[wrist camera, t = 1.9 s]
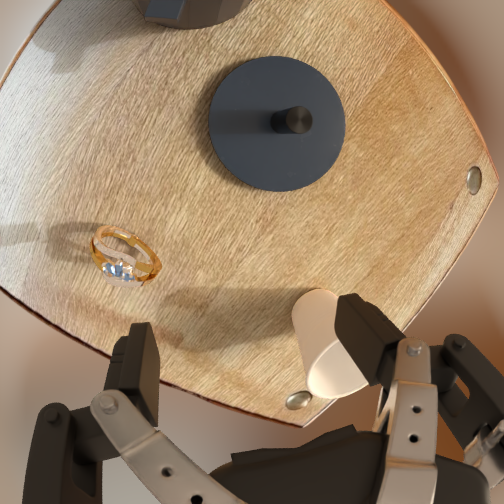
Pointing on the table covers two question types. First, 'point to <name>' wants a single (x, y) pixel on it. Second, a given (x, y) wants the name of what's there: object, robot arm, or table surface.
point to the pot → (189, 12)
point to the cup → (324, 347)
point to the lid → (276, 123)
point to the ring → (120, 270)
